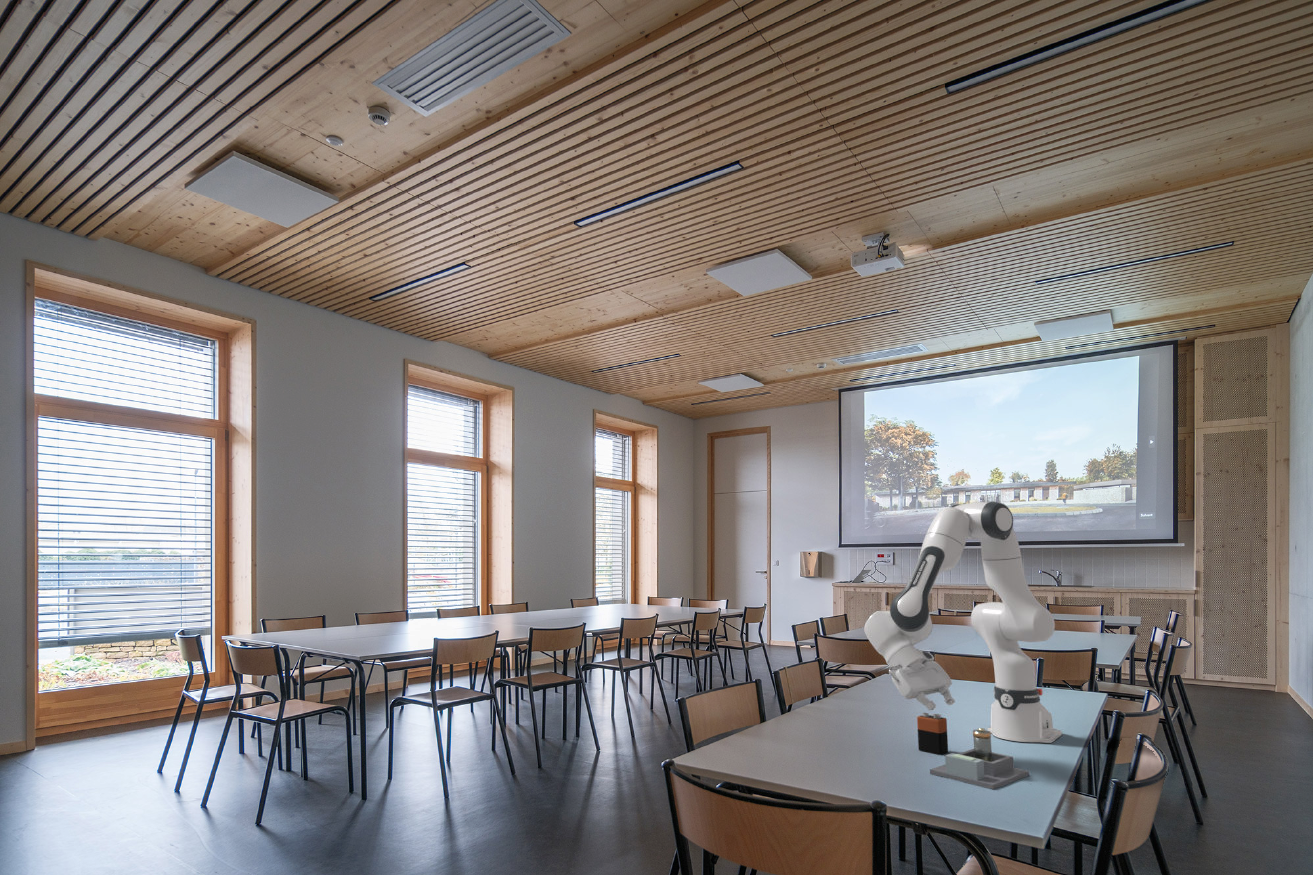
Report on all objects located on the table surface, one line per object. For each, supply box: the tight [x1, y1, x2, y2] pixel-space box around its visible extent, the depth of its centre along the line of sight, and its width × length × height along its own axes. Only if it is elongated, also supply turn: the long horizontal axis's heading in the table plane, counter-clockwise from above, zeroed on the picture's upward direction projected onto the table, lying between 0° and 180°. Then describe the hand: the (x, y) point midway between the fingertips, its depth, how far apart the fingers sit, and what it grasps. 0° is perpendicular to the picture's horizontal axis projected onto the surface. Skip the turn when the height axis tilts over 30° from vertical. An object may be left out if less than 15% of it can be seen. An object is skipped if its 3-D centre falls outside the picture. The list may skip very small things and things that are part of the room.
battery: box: [916, 712, 949, 755], centre depth 209 cm, size 4×7×10 cm, turn 42°
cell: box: [972, 727, 993, 762], centre depth 189 cm, size 4×4×9 cm
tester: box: [929, 748, 1030, 790], centre depth 187 cm, size 18×16×5 cm
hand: (942, 706), depth 199 cm, fingers open, 8 cm apart
